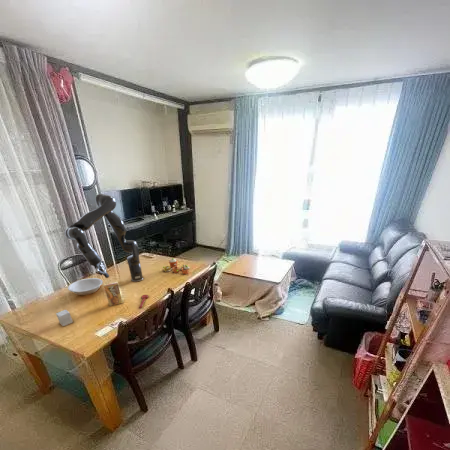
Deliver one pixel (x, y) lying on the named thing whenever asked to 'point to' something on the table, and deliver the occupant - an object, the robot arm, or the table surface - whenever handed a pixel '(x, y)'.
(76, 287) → the soup bowl
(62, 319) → the grey cube
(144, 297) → the spoon
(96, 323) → the table surface
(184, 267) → the toy tea set
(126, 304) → the table surface
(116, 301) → the candy box
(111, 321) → the table surface
